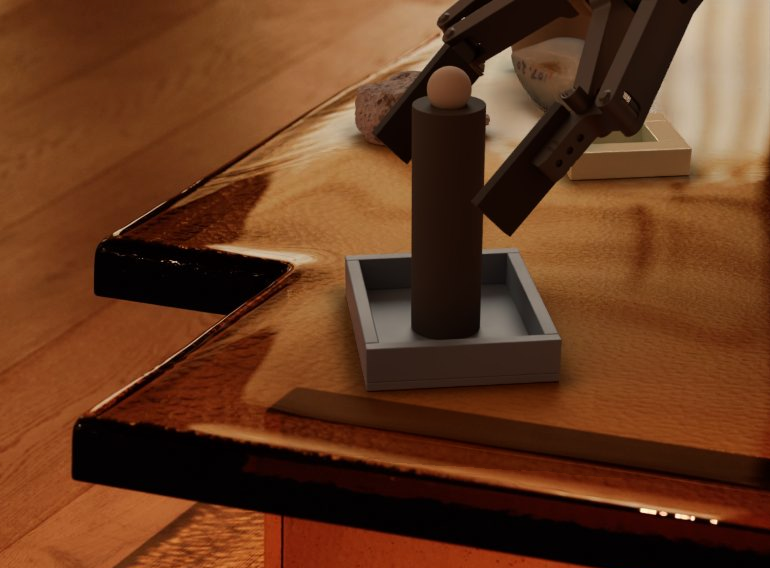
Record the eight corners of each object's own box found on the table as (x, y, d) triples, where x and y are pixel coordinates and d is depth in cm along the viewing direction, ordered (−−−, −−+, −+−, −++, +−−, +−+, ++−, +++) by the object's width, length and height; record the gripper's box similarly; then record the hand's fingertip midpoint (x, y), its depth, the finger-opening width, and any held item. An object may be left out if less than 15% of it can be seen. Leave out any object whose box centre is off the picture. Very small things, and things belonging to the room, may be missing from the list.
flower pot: (499, 48, 147) (503, -66, 142) (623, 55, 145) (632, -61, 140) (475, 82, 138) (478, -39, 133) (607, 90, 135) (616, -33, 130)
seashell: (527, 47, 137) (499, 5, 127) (628, 72, 134) (608, 30, 124) (503, 118, 137) (473, 81, 127) (603, 144, 134) (581, 108, 125)
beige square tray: (689, 175, 117) (692, 148, 116) (570, 180, 116) (571, 153, 115) (659, 138, 124) (661, 112, 123) (546, 142, 123) (548, 117, 122)
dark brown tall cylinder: (485, 338, 91) (493, 75, 84) (415, 342, 91) (416, 78, 83) (474, 310, 95) (481, 55, 87) (407, 314, 94) (407, 58, 87)
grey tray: (559, 381, 88) (562, 339, 86) (366, 391, 87) (365, 349, 86) (516, 285, 99) (517, 247, 98) (345, 293, 98) (344, 255, 97)
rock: (369, 110, 131) (368, 60, 129) (499, 120, 128) (500, 69, 126) (337, 144, 124) (336, 91, 122) (474, 155, 121) (475, 101, 119)
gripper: (882, -46, 76) (587, 298, 79) (622, -115, 97) (394, 161, 99) (801, -158, 72) (492, 209, 75) (546, -206, 92) (311, 85, 95)
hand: (435, 182), depth 87 cm, fingers open, 13 cm apart
